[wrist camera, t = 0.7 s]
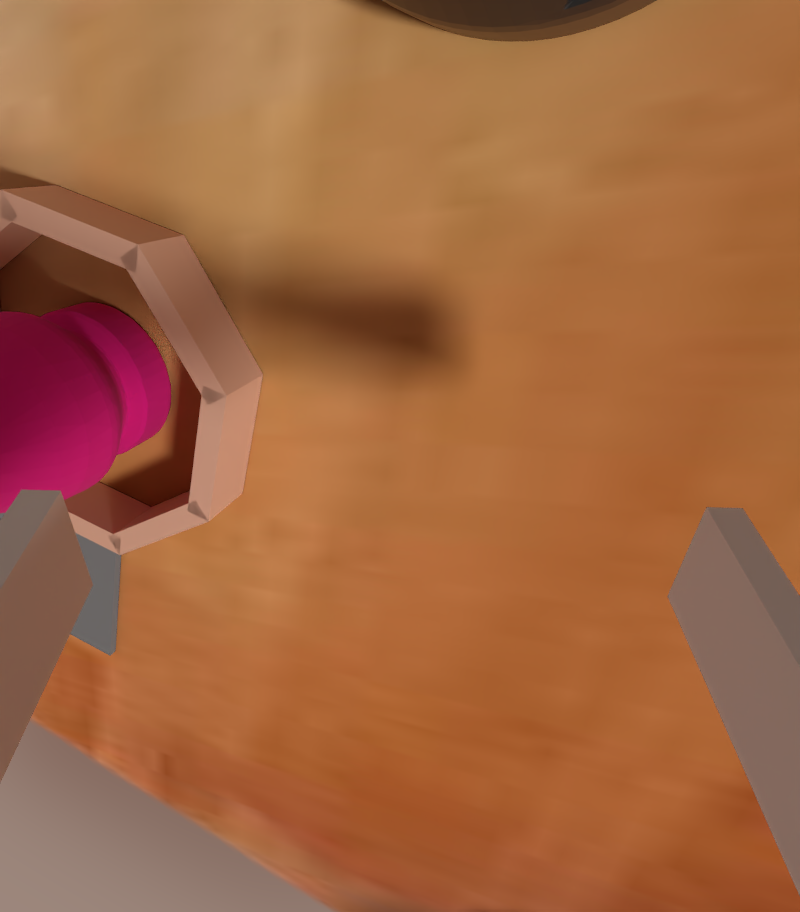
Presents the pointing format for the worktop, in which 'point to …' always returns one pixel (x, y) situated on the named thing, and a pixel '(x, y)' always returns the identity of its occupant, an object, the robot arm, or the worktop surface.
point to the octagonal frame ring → (190, 333)
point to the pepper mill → (74, 396)
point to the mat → (99, 597)
